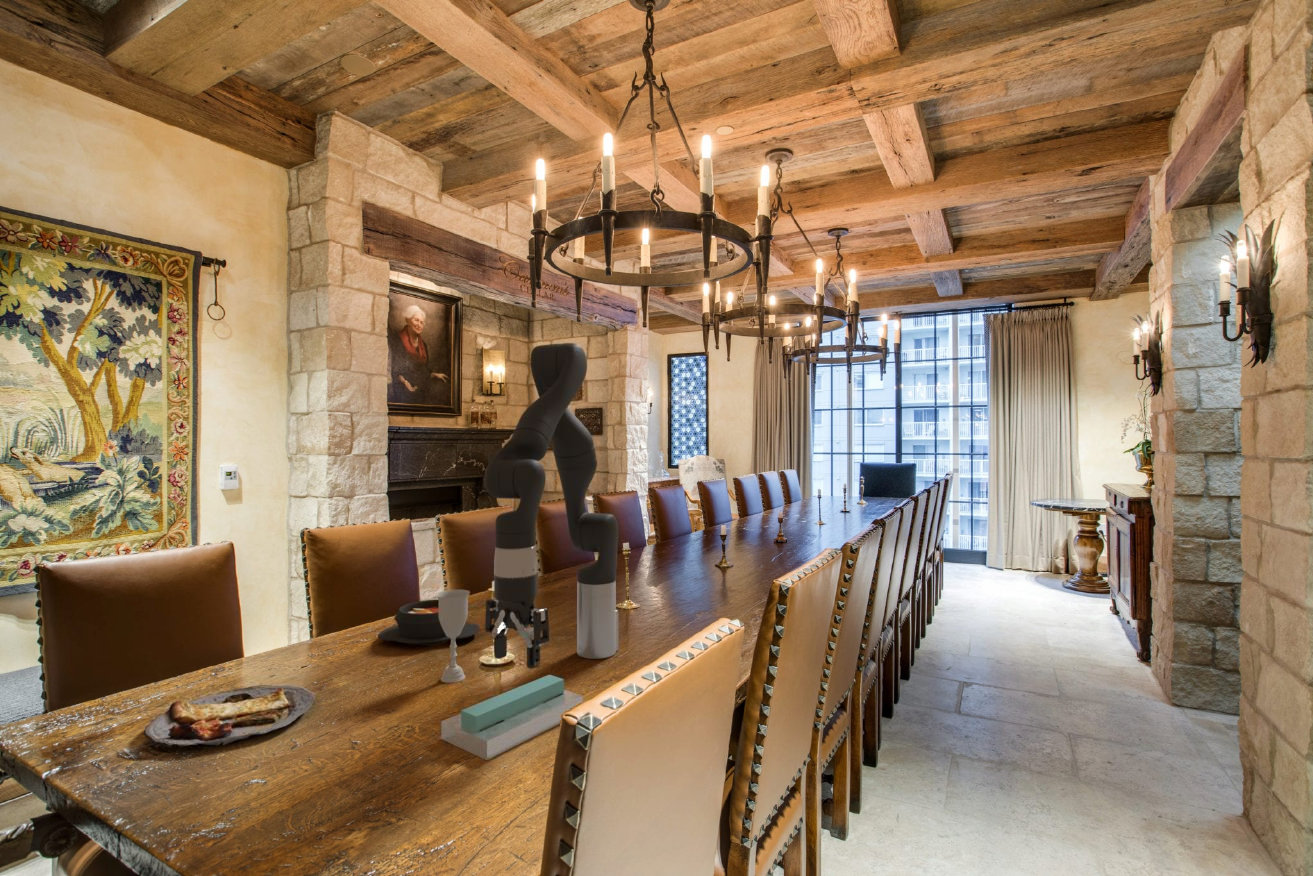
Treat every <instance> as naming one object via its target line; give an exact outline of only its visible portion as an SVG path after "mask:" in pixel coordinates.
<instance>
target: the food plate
mask: <svg viewBox="0 0 1313 876" xmlns="http://www.w3.org/2000/svg"><path fill="white" fill-rule="evenodd" d="M314 695H315V693H314V692H313V691H310V690H308V689H307V688H304V687H301V686H297V685H269V684H264V685H263V684H262V685H254V686H246V687H243V688H238V689H237V688H236V689H232V690H231V689H230V690H227V691H222V692H218V693H213V694H210V695H206V696H202V697H199V698H196V699H192V700H190V701H187V702H186V701H184V700H178V701H174V702H172V703H171V704H170V707H169V708H168V709H167V711H165V712H164V713H160V714H159V715H157V716H155V718H154V719H153V720H151V722H149V723H148V724H147V725H146V726H145V729H144V730H143V736H144V737H146V738H147V739H148V740H151V742H152V743H153V744H155V743H156V744H157V745H161V748H163V747H164V743H165V746H166V747H171V746H173V745H177V747H182V748H183V747H188V746H190V745H196V746H198V744H199V745H201V744H202V745H209V746H219V745H220V744H222V746H225V745H228V744H231V743H233V742H234V741H237V740H244V739H248V738H249V737H250V736H254V735H263V734H266V733H269V732H271V731H275V730H277V729H280V728H283V727H286V726H288V725H290V724H291V723H292V722H294V721H295V720H297V718H298V717H300V716H302V714H305V713H306V712H307V711H309V709H310V708H311V707H312V705H313V704H314V698H315V696H314ZM285 710H287V715H286V717H285V718H283V717H284V712H285ZM279 720H280V721H279ZM273 723H274V724H273ZM269 724H272V725H271V726H267V727H265V728H264V725H269ZM244 733H247V734H244Z"/></svg>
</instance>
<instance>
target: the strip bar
mask: <svg viewBox="0 0 1313 876" xmlns="http://www.w3.org/2000/svg"><path fill="white" fill-rule="evenodd" d="M564 690H565V679H564V678H563V677H562V678H561V677H558V676H554V675H552V674H548V675H545V676H543V677H540V678H537V679H536V680H533V681H530V682H528V683H525V684H523V685H520V686H517V687H516V688H513V689H509V690H508V691H505V692H503V693H501V694H498V695H496V696H492V697H490V698H488V699H485V700H483V701H480V702H479V703H476V704H473V705H471V706H468V707H466V708H464V709H461V710H460V713H461V726H464V727H466V728H468V729H470V730H473V731H475V732H477V731H480V732H481V731H483V730H486V729H488V728H490V727H492V726H494V725H496V723H498V722H500V721H502V720H504V719H506V718H509V717H511V716H513V715H515V714H518V713H520V712H522V711H524V710H526V709H529V708H531V707H533V706H535V705H538V704H540V703H542V702H543V703H545V702H547V701H550V700H552V699H554V698H556V697H557V696H558V695H560V694H562V693H564Z"/></svg>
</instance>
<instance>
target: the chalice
mask: <svg viewBox="0 0 1313 876" xmlns="http://www.w3.org/2000/svg"><path fill="white" fill-rule="evenodd" d="M470 593H471V591H470V590H466V589H449V590H444V591H440V592H438V593H436V595H435V596H436V598H437V600H439V621H440V624H441V626H442V628H443V630H444V632H445V634H446V636H447V637H450V638H451V640H450V645H449V646H448V647H449V649H450V654H449V655H448V657H449V659H450V664H449V665H448V666H446V667H445V669H444V670H443V672H442V676H441V678H440V681H441V682H443V683H447V684H448V683H449V684H451V683H457V682H460V681H463V680H465V679H466V675H465V674H464V673H465V672H464V671H463V668H462V667H461V665H458V663H456V659H457V656H458V654H457V652H456V649H457V647H458V645H457V643H456V640H457V639H456V637H457V636H459V635H460V633H461V631H462V629H463V627H464V625H465V623H467V622H466V621H467V619H468V614H469V613H468V611H469V607H468V606H469V602H468V601H469V595H470Z"/></svg>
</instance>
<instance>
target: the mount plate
mask: <svg viewBox="0 0 1313 876" xmlns="http://www.w3.org/2000/svg"><path fill="white" fill-rule="evenodd" d="M582 702H583V703H584V695H582V694H579V693H575V692H573V691H570V690H567V689H564V693H562V694H560V695H558V696H557V697H556V698H554V699H552V700H550V701H547V702H545V703H543V702H542V703H540V704H538V705H535V706H533V707H531V708H529V709H526V710H524V711H522V712H520V713H518V714H515V715H513V716H511V717H509V718H506V719H504V720H502V721H500V722H498V723H496V725H494V726H492V727H490V728H488V729H486V730H483V731H481V732H480V731H477V732H475V731H473V730H470V729H468V728H466V727H464V726H461V712H460V713H459V714H455V715H453V716H451V717H449V718H447V719H443V720H442V721H441V726H440V727H441V728H440V729H441V731H440V732H441V737H440V738H441V740H442V741H444V742H446V743H449V744H452V745H453V746H455V747H458V748H460V749H462V750H464V751H465V752H468V753H470V754H471V755H475V756H477V757H479V758H481V759H483V760H486V761H488V760H491V759H493V758H495V757H497V756H499V755H500V754H503V753H505V752H506V751H509V750H510V749H512V748H515V747H517V746H519V745H521V744H523V743H525V742H527V741H529V740H531V739H533V738H535V737H536V736H539V735H541V734H542V733H544V732H547V731H549V730H550V729H552V728H554V727H556V726H558V725H561V723H560V720H561V715H562V714H563V713H564V712H565V711H568V710H570V708H573V707H574V706H576V705H578V704H579V703H582Z"/></svg>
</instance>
